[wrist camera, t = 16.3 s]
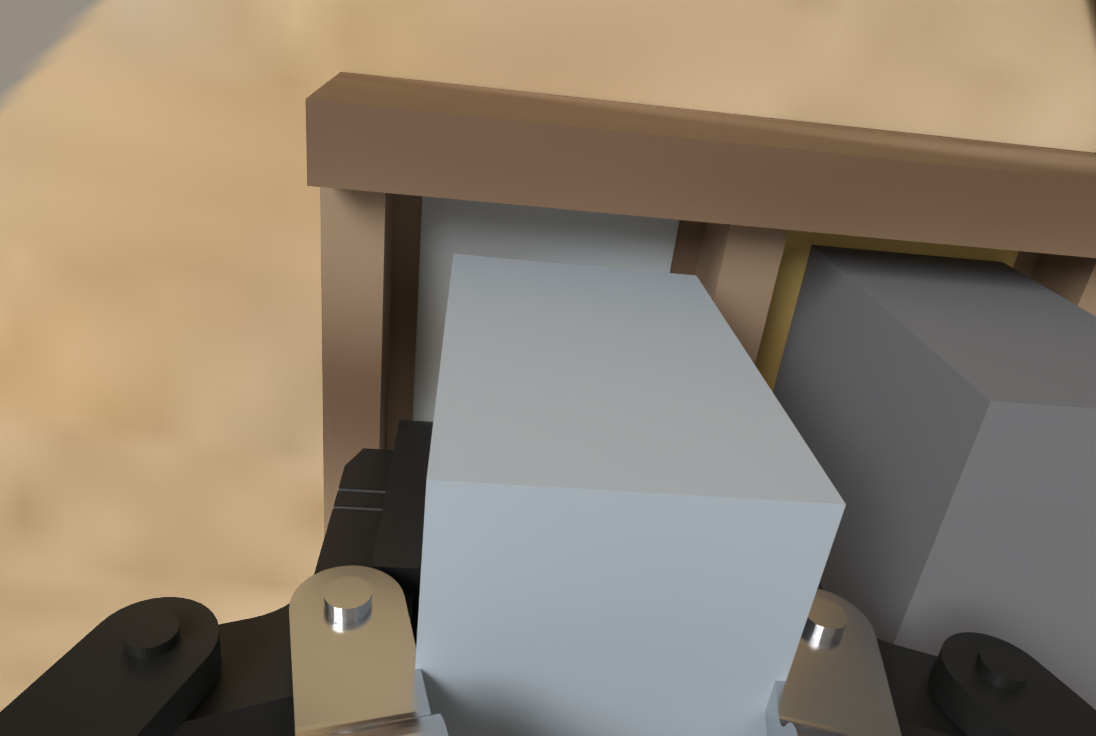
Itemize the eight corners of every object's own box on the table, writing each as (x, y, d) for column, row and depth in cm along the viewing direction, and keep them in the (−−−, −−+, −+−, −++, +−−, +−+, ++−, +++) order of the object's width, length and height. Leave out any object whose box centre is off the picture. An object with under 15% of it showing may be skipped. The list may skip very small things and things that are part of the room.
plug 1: (449, 253, 12) (419, 485, 7) (699, 275, 13) (856, 511, 7) (426, 604, 15) (393, 956, 10) (628, 613, 16) (700, 955, 10)
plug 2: (809, 244, 15) (991, 405, 10) (1005, 261, 15) (1285, 426, 10) (729, 545, 18) (834, 796, 13) (894, 553, 19) (1064, 799, 13)
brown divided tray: (937, 568, 20) (1008, 664, 17) (340, 541, 18) (316, 642, 16) (1107, 154, 15) (1238, 195, 13) (341, 72, 14) (306, 99, 11)
